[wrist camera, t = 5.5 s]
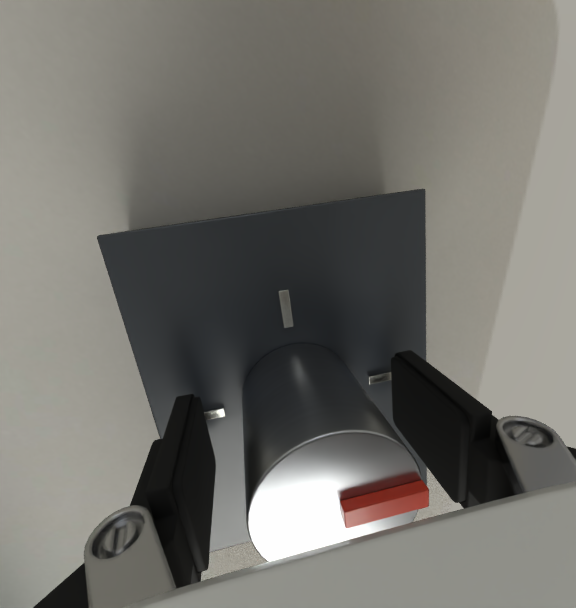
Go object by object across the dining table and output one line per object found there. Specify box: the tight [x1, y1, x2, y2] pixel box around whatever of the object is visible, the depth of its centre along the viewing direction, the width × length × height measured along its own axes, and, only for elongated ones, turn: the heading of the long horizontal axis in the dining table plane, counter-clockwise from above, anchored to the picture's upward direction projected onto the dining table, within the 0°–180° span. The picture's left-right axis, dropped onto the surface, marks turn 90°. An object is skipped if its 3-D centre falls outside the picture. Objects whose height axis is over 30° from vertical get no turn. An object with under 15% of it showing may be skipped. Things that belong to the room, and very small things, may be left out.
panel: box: [97, 189, 427, 552], centre depth 14 cm, size 14×11×3 cm
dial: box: [242, 343, 429, 562], centre depth 10 cm, size 4×4×5 cm
